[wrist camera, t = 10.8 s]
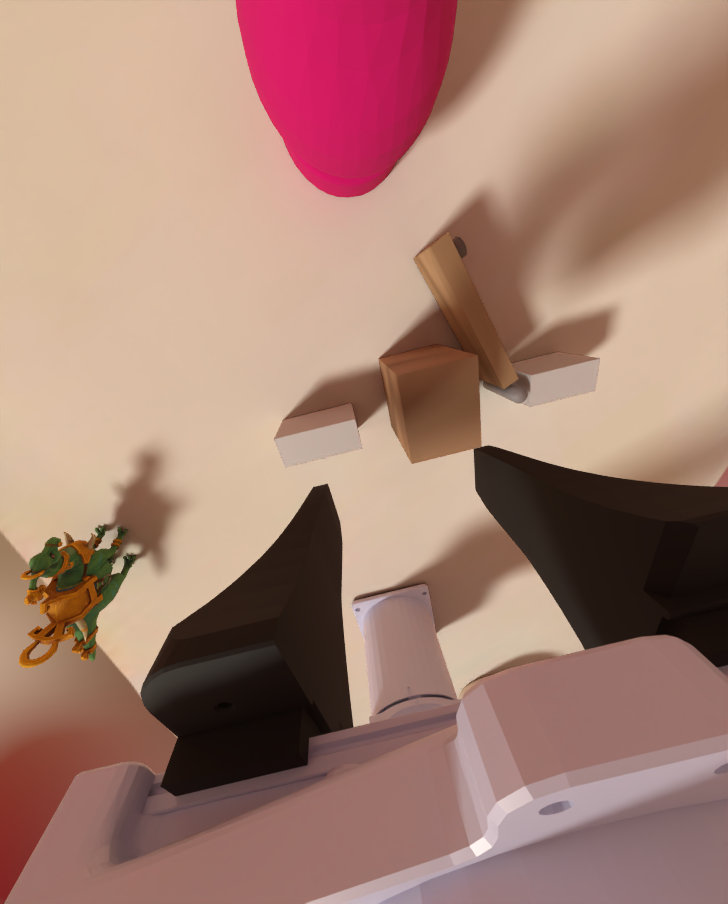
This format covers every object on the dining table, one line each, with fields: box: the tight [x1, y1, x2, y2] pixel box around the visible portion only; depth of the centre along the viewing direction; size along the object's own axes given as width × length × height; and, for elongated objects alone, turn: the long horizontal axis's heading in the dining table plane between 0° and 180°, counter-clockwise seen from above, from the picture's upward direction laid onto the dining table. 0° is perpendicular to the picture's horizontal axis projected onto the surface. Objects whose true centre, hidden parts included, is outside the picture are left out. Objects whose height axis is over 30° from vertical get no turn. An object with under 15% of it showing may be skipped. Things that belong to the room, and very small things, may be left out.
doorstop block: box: [379, 344, 481, 464], centre depth 17 cm, size 5×4×6 cm
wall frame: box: [274, 352, 600, 468], centre depth 19 cm, size 2×20×4 cm, turn 103°
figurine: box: [19, 526, 136, 668], centre depth 20 cm, size 3×12×8 cm, turn 170°
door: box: [414, 232, 519, 389], centre depth 17 cm, size 2×9×3 cm, turn 37°
